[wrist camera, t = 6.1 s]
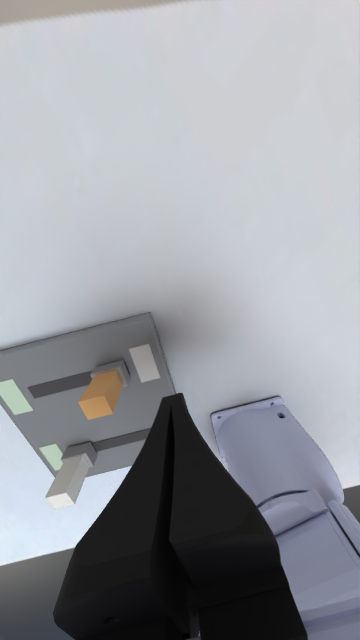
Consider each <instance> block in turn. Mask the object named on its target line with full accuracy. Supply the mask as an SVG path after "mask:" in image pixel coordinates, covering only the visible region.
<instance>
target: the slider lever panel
mask: <svg viewBox="0 0 360 640" xmlns="http://www.w3.org/2000/svg"><path fill="white" fill-rule="evenodd" d="M121 360H123V361H124V363H125V366H126V368H127V371H128V373H129V376H130V382H129V385H128V386H127V387H123V388H122V390H121V393H120V396H119V399H118V402H117V404H116V407H115V410H114V413H113V414H110V415H106V416H102V417H98V418H94V419H90V420H88V419H87V417H86V416H85V414H84V412H83V410H82V408H81V407H80V405H79V403H78V401H79V400H80V398H81V396H82V395H83V393H84V392H85V390H86V389H87V387H88V386H89V384H90V382H91V381H92V377H91V375H90V374H91V372H92V371H93V370H94V368H95V367H97V366H101V365H105V364H109V363H113V362H117V361H121ZM174 394H176V393H175V390H174V386H173V383H172V380H171V377H170V374H169V370H168V367H167V364H166V361H165V358H164V354H163V351H162V348H161V345H160V342H159V338H158V335H157V332H156V329H155V326H154V323H153V319H152V316H151V313H150V312H149V313H145V314H141V315H137V316H133V317H130V318H126V319H122V320H118V321H114V322H110V323H106V324H102V325H98V326H95V327H91V328H87V329H83V330H79V331H75V332H71V333H67V334H64V335H60V336H56V337H52V338H48V339H44V340H40V341H36V342H32V343H29V344H25V345H21V346H17V347H13V348H9V349H5V350H1V351H0V404H1V406H2V407H3V409H4V410H5V411H6V413H7V414H8V415H9V417H10V418H11V419H12V421H13V422H14V423H15V425H16V426H17V427H18V429H19V430H20V431H21V433H22V434H23V435H24V437H25V438H26V439H27V441H28V442H29V443H30V445H31V446H32V447H33V449H34V450H35V451H36V453H37V454H38V456H39V457H40V458H41V460H42V461H43V462H44V464H45V465H46V466H47V468H48V469H49V470H50V472H51V473H52V474H53V476H54V477H55V478H56V476H57V474H58V472H59V470H60V468H61V466H62V464H63V462H62V461H61V460H60V459H61V457H62V456H63V454H64V452H65V450H66V448H69V447H73V446H77V445H80V444H84V443H88V442H91V444H92V446H93V447H94V449H95V451H96V453H97V454H98V456H97V459H96V461H95V464H94V466H93V467H89V469H88V471H87V474H86V477H89V476H93V475H97V474H101V473H105V472H109V471H113V470H117V469H121V468H124V467H128V466H132V465H133V464H134V462H135V460H136V458H137V456H138V454H139V453H140V451H141V449H142V447H143V445H144V443H145V440H146V438H147V436H148V434H149V432H150V429H151V427H152V424H153V422H154V419H155V417H156V414H157V412H158V409H159V406H160V403H161V399H162V398H163V397H167V396H170V395H174Z"/></svg>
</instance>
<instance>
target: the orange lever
mask: <svg viewBox="0 0 360 640" xmlns="http://www.w3.org/2000/svg"><path fill="white" fill-rule="evenodd" d="M90 375H91V377H92V381H91V382H90V384H89V386H88V387H87V389H86V390H85V392H84V393H83V395H82V396H81V398H80V400H79V401H78V403H79V405H80V407H81V408H82V410H83V412H84V414H85V416H86V417H87V419H88V420H90V419H94V418H98V417H102V416H106V415H110V414H113V413H114V410H115V407H116V404H117V402H118V399H119V396H120V393H121V390H122V388H123V387H127V386H128V385H129V382H130V376H129V373H128V371H127V368H126V366H125V363H124V361H123V360H121V361H117V362H113V363H109V364H105V365H101V366H97V367H95V368H94V370H93V371H92V372H91V374H90Z"/></svg>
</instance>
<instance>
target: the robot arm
mask: <svg viewBox="0 0 360 640" xmlns="http://www.w3.org/2000/svg"><path fill="white" fill-rule="evenodd" d="M211 419H212V423H213V428H214V432H215V436H216V440H217V444H218V448H219V452H220V456H221V457H225V459H226V462H227V465H228V469H229V472H230V474H229V473H228V471H227V470H226V469H225V468H224V466H223V465H222V464H221V462H220V461H219V460H218V459H217V457H216V456H215V455H214V453H213V452H212V451H211V449H210V448H209V446H208V445H207V443H206V442H205V440H204V439H203V437H202V436H201V434H200V432H199V431H198V429H197V427H196V426H195V424H194V422H193V420H192V418H191V416H190V414H189V412H188V409H187V406H186V402H185V399H184V396H183V394H182V393H178V394H174V395H170V396H167V397H163V398H162V399H161V403H160V406H159V409H158V412H157V414H156V417H155V419H154V422H153V424H152V427H151V429H150V432H149V434H148V436H147V438H146V440H145V443H144V445H143V447H142V449H141V451H140V453H139V454H138V456H137V458H136V460H135V462H134V464H133V465H132V467H131V469H130V470H129V472H128V474H127V475H126V477H125V479H124V480H123V482H122V483H121V485H120V487H119V488H118V490H117V491H116V492H115V494H114V495H113V497H112V498H111V500H110V501H109V503H108V504H107V506H106V507H105V508H104V510H103V511H102V513H101V514H100V515H99V517H98V518H97V519H96V521H95V522H94V523H93V524H92V526H91V527H90V528H89V530H88V531H87V532H86V534H85V535H84V536H83V537H82V539H81V540H80V541H79V542H78V544H77V545H76V547H75V550H74V552H73V555H72V558H71V560H70V563H69V565H68V568H67V571H66V574H65V577H64V580H63V584H62V587H61V590H60V593H59V596H58V599H57V602H56V605H55V608H54V611H53V617H54V621H55V623H56V625H57V626H58V627H59V628H61V629H62V630H63V631H65V632H66V633H67V634H69V635H70V636H71V637H73V638H74V639H75V640H360V524H359V523H358V521H357V520H356V519H355V517H354V516H353V515H352V513H351V512H350V511H349V509H348V508H347V507H346V506H344V505H342V503H343V501H344V495H343V490H342V486H341V483H340V481H339V478H338V476H337V474H336V472H335V471H334V469H333V467H332V465H331V464H330V462H329V460H328V459H327V457H326V456H325V454H324V453H323V452H322V450H321V449H320V448H319V446H318V445H317V444H316V443H315V441H314V440H313V439H312V438H311V437H310V436H309V434H308V433H307V432H306V431H305V430H304V428H303V427H302V426H301V425H300V424H299V422H298V421H297V420H296V419H295V418H294V416H293V415H292V414H291V413H290V412H289V410H288V409H287V408H286V407H285V406H284V404H283V399H282V398H281V397H276V398H272V399H268V400H264V401H260V402H256V403H252V404H248V405H244V406H241V407H237V408H233V409H229V410H225V411H221V412H217V413H213V414H212V415H211ZM199 631H200V636H199V637H198V635H199Z"/></svg>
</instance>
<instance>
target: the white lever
mask: <svg viewBox="0 0 360 640" xmlns="http://www.w3.org/2000/svg"><path fill="white" fill-rule="evenodd" d="M97 456H98V454H97V453H96V451H95V449H94V447H93V446H92V444H91V442H88V443H84V444H80V445H77V446H73V447H69V448H66V450H65V452H64V454H63V456H62V457H61V459H60V460H61V461H62V462H63V464H62V466H61V468H60V470H59V472H58V474H57V476H56V478H55V480H54V481H53V483H52V485H51V487H50V489H49V491H48V493H47V495H46V497H45V499H46V500H47V501H48V503H49V504H50V505H51V506H52V507H53V509H58V508H62V507H66V506H70V505H74V504H75V503H76V500H77V497H78V495H79V492H80V490H81V487H82V484H83V482H84V479H85V477H86V474H87V471H88V469H89V467H93V466H94V464H95V461H96V459H97Z"/></svg>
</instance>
